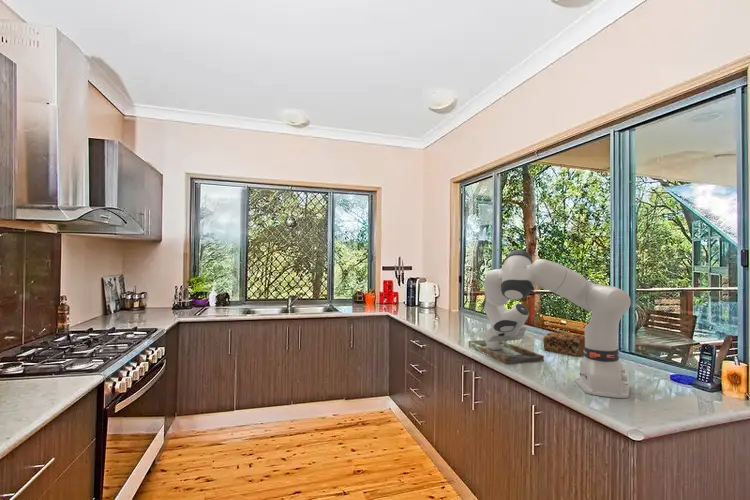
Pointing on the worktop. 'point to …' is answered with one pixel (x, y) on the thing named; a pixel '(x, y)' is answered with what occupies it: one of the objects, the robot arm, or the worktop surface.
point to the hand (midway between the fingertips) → (499, 343)
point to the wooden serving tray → (525, 358)
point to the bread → (564, 343)
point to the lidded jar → (494, 345)
